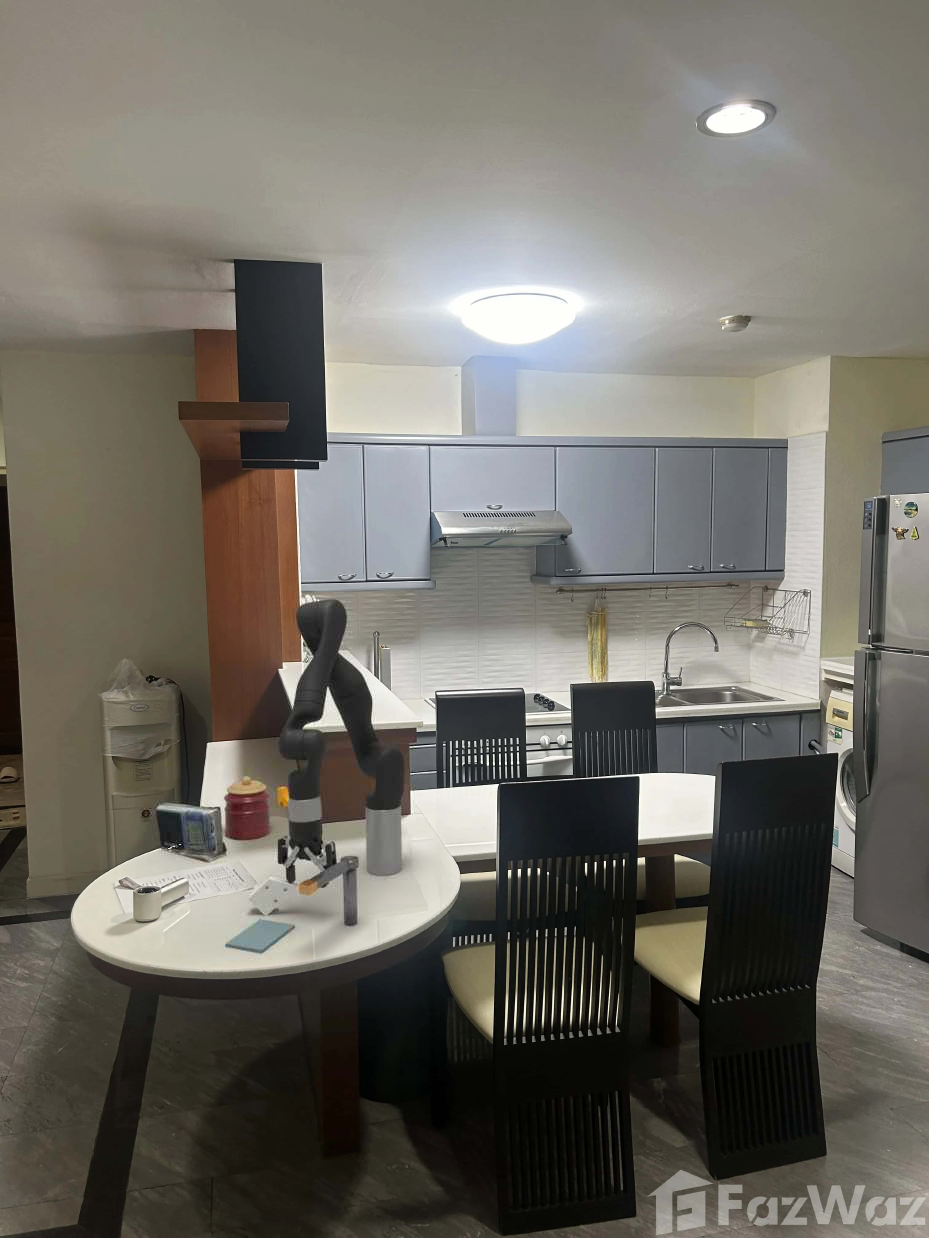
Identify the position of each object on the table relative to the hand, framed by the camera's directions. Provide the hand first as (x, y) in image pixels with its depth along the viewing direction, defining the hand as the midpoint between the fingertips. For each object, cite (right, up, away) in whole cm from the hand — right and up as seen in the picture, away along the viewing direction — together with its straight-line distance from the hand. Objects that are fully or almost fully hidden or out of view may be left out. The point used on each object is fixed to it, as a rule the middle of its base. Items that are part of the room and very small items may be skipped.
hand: (307, 884), depth 202 cm
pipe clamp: (-19, -1, +83) cm, 85 cm away
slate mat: (-8, -8, -11) cm, 16 cm away
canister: (-28, -3, +57) cm, 63 cm away
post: (+10, -8, -4) cm, 13 cm away
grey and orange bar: (+7, +5, -12) cm, 15 cm away
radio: (-40, -4, +42) cm, 58 cm away
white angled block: (-10, -8, +2) cm, 12 cm away
